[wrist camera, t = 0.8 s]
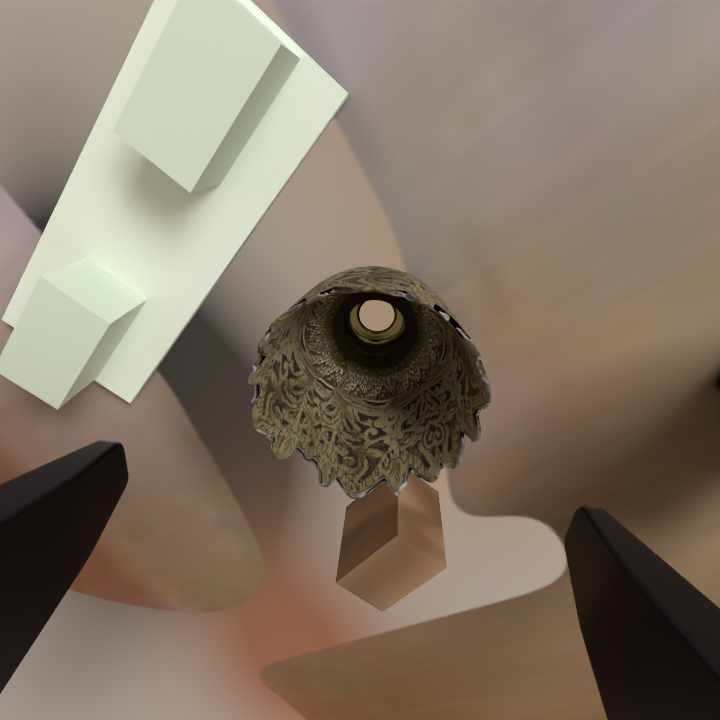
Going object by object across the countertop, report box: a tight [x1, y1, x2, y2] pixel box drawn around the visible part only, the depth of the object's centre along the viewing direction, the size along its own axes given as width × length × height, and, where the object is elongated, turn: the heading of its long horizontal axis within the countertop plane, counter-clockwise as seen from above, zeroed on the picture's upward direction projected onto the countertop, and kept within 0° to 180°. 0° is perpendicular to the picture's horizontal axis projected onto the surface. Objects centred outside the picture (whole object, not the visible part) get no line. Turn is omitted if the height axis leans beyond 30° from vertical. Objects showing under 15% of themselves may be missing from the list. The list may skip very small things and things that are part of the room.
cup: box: [247, 266, 491, 499], centre depth 17 cm, size 8×7×8 cm
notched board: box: [0, 0, 349, 410], centre depth 18 cm, size 7×18×4 cm, turn 140°
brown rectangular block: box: [336, 472, 446, 611], centre depth 24 cm, size 3×4×5 cm, turn 140°
